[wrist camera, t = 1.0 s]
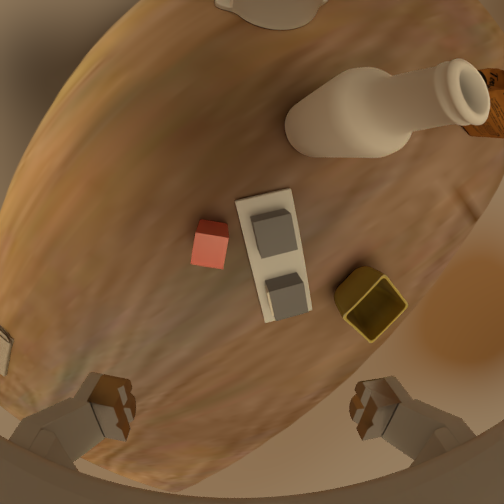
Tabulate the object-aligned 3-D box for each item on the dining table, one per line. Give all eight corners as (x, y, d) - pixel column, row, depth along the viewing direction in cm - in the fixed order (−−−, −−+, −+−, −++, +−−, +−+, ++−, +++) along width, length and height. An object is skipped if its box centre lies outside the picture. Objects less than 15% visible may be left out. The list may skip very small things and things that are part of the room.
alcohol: (350, 131, 38) (521, 117, 10) (313, 169, 40) (476, 200, 11) (310, 89, 36) (453, 3, 7) (270, 127, 37) (387, 58, 9)
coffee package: (452, 68, 35) (533, 54, 14) (483, 114, 39) (560, 116, 18) (436, 95, 37) (527, 84, 16) (469, 142, 40) (554, 152, 20)
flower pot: (383, 283, 47) (410, 305, 39) (350, 317, 49) (371, 344, 40) (357, 253, 45) (384, 273, 36) (321, 290, 46) (341, 317, 38)
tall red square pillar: (195, 245, 41) (190, 263, 34) (200, 218, 40) (195, 232, 33) (222, 249, 42) (222, 269, 34) (227, 223, 41) (228, 238, 33)
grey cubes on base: (234, 200, 40) (236, 206, 35) (288, 187, 40) (298, 191, 35) (263, 318, 46) (269, 336, 41) (309, 305, 47) (319, 322, 41)
